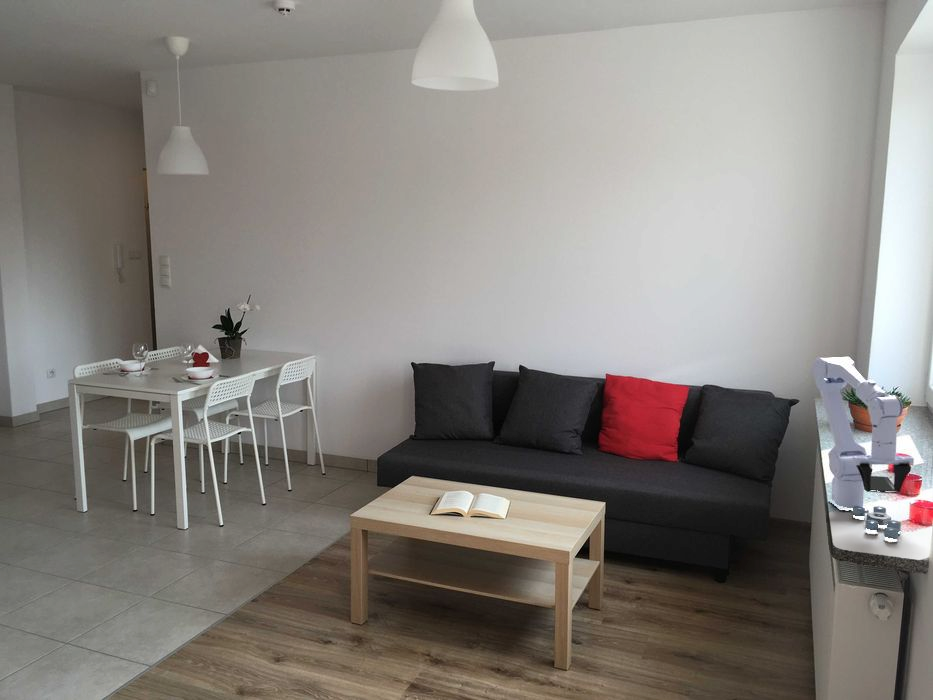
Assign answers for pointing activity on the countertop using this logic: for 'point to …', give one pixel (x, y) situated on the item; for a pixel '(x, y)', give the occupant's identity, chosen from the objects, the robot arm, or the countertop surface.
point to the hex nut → (879, 517)
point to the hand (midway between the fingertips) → (882, 490)
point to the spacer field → (891, 528)
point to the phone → (881, 484)
